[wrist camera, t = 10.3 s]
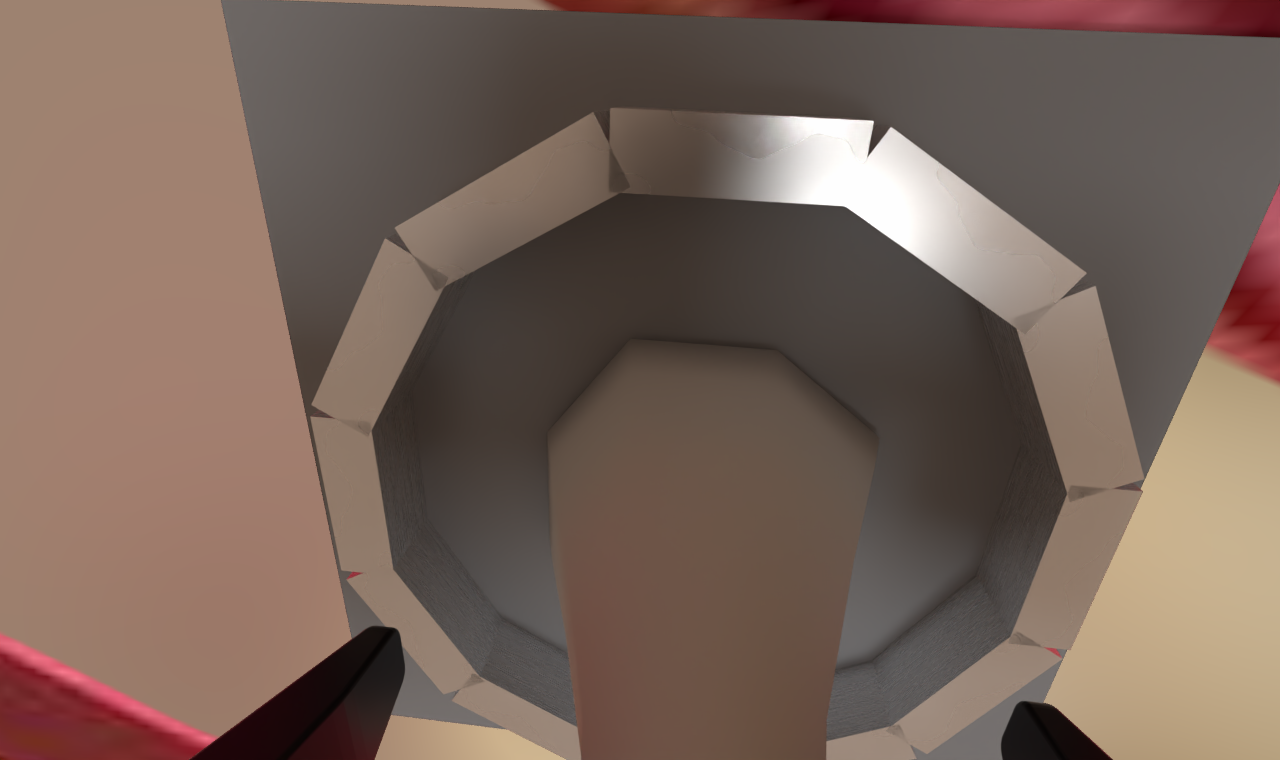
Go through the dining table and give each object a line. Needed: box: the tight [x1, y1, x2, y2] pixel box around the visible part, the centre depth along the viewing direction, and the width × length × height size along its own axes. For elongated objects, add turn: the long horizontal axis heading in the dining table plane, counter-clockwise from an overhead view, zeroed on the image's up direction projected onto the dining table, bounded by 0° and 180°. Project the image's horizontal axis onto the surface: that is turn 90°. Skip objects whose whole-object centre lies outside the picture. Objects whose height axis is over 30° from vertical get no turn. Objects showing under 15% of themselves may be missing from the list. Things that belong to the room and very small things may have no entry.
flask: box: [547, 339, 880, 760], centre depth 9 cm, size 7×7×10 cm
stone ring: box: [310, 107, 1144, 760], centre depth 13 cm, size 15×15×2 cm
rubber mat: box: [221, 0, 1280, 760], centre depth 14 cm, size 18×18×1 cm
